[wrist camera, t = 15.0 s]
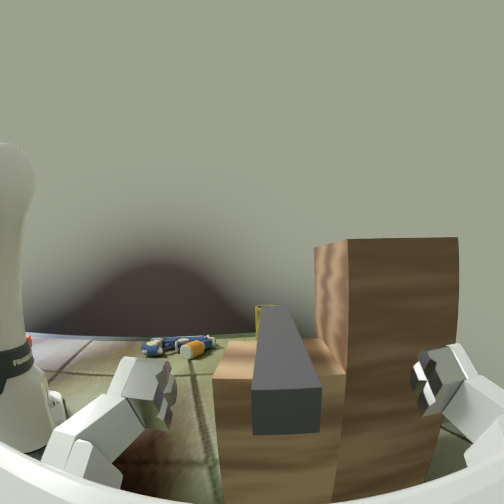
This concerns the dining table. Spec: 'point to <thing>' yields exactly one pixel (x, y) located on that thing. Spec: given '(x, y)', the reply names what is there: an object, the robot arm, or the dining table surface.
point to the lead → (283, 379)
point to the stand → (348, 379)
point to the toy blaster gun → (179, 345)
